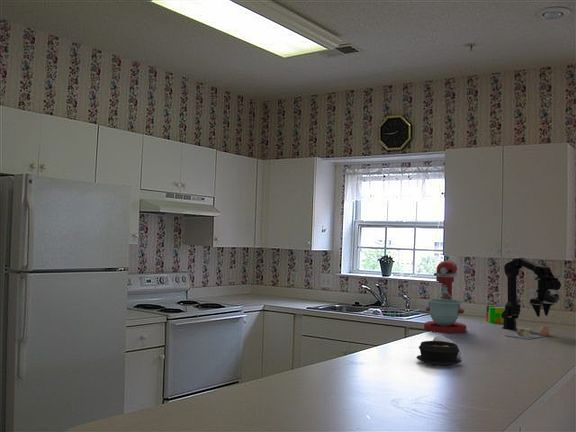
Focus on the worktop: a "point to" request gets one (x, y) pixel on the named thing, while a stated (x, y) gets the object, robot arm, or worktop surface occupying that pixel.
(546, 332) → the brown rounded lump
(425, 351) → the casserole
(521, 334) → the oak block
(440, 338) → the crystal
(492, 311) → the puzzle toy
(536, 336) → the board
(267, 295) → the worktop surface
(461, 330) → the stand mixer
